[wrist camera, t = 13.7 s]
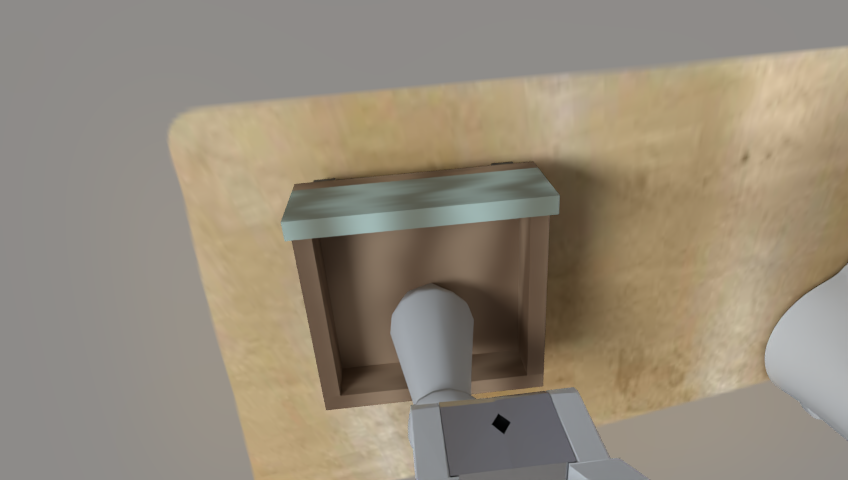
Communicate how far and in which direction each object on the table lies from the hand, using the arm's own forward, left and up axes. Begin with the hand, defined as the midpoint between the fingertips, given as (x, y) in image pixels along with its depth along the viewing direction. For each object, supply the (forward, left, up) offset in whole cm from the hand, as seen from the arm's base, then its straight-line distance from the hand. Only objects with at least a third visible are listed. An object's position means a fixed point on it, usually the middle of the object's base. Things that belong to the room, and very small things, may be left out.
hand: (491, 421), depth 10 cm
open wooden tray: (0, +13, -30) cm, 33 cm away
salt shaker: (0, +15, -26) cm, 30 cm away
